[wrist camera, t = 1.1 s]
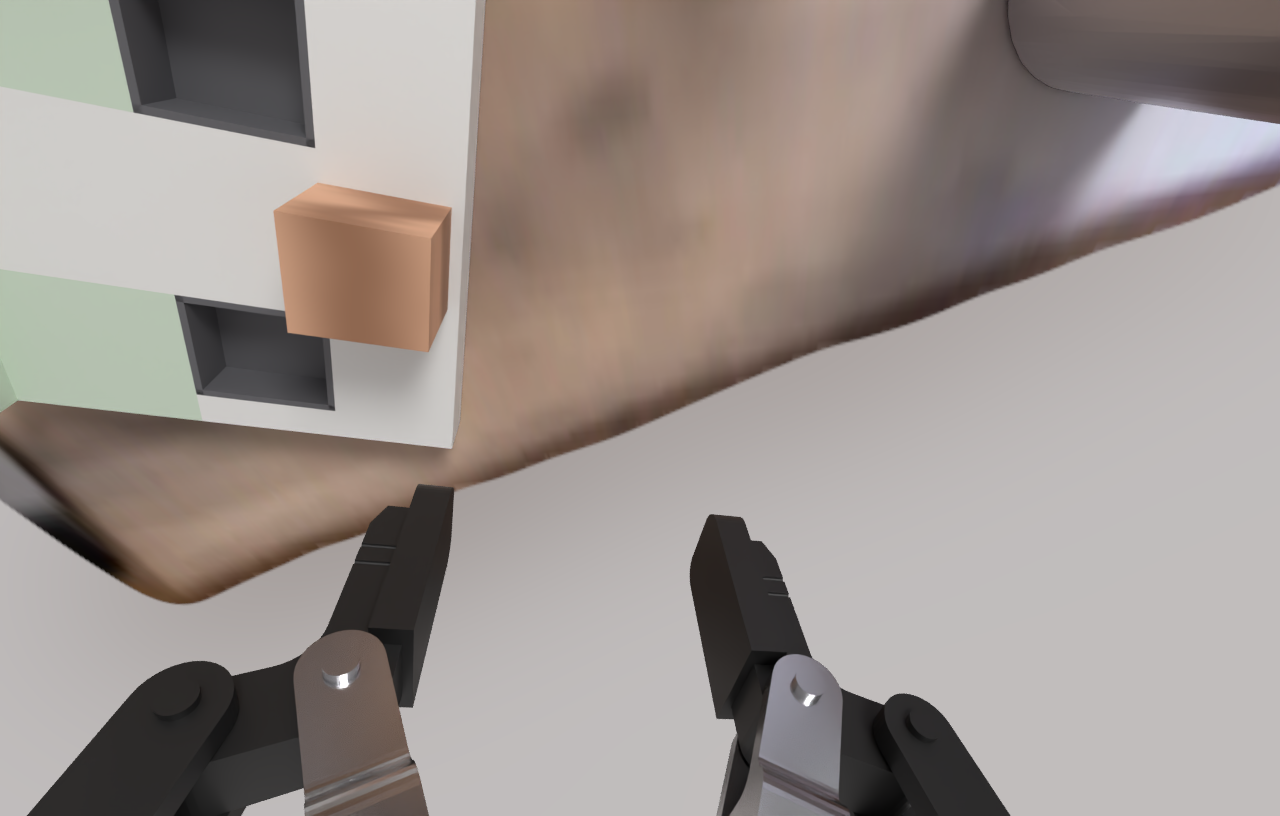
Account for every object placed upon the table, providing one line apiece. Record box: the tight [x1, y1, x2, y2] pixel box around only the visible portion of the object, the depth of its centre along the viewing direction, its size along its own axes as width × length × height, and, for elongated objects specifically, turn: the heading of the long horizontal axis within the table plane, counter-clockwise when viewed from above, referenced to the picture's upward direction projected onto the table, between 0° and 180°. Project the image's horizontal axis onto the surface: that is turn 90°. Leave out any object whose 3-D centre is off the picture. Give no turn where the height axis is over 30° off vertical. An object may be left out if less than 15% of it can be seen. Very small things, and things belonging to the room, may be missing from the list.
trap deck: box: [0, 0, 486, 449], centre depth 23 cm, size 20×20×4 cm
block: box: [273, 183, 452, 352], centre depth 23 cm, size 5×4×4 cm
